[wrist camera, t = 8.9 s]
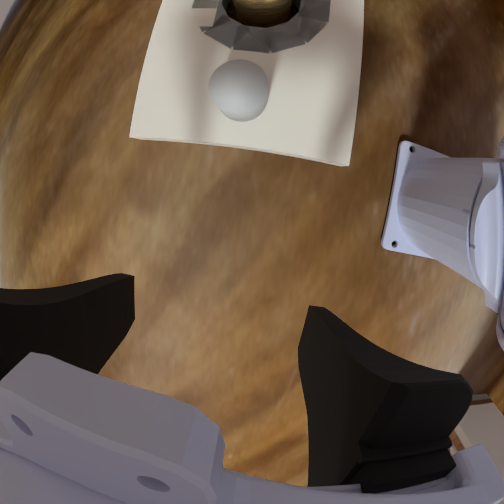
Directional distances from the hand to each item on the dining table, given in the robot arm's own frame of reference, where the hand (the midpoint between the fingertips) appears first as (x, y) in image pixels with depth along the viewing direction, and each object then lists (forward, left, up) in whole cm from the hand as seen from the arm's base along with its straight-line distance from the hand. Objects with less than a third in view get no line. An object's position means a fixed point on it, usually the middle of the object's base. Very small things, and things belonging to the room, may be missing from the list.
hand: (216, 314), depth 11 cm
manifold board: (+1, -15, -9) cm, 18 cm away
